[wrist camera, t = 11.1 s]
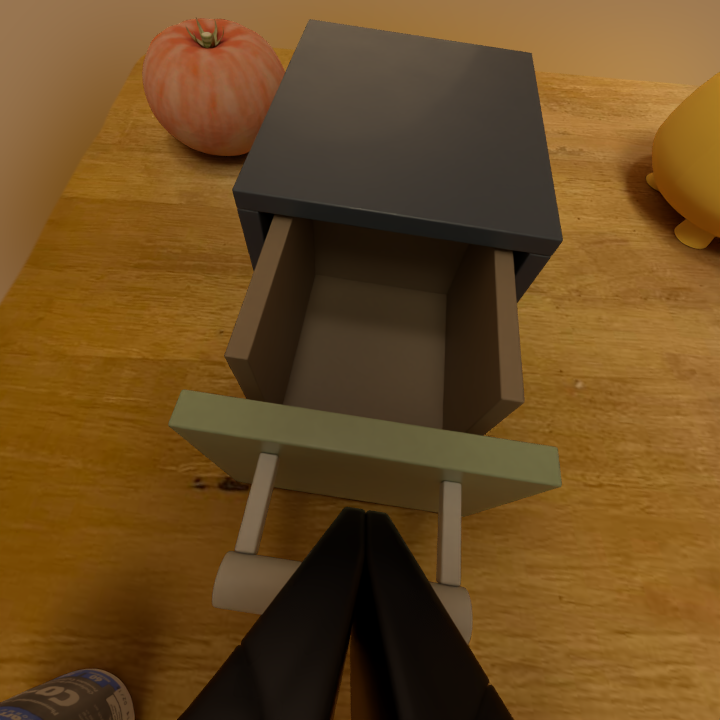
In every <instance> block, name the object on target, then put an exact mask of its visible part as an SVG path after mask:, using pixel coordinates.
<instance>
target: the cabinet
mask: <svg viewBox="0 0 720 720" xmlns="http://www.w3.org/2000/svg"><path fill="white" fill-rule="evenodd" d="M232 191H233V195H234V199H235V202H236V206H237V210H238V214H239V218H240V222H241V225H242V229H243V233H244V237H245V240H246V244H247V248H248V252H249V255H250V259H251V263H252V267H253V270H254V271H255V268H256V265H257V262H258V259H259V256H260V254H261V251H262V248H263V245H264V242H265V240H266V237H267V234H268V231H269V228H270V225H271V223H272V220H273V217H274V214H279V215H285V216H292V217H298V218H305V219H311V220H318V221H324V222H331V223H338V224H344V225H351V226H357V227H364V228H370V229H377V230H383V231H390V232H396V233H403V234H409V235H416V236H422V237H429V238H435V239H442V240H448V241H455V242H461V243H468V244H474V245H481V246H487V247H494V248H501V249H507V250H513V261H514V274H515V287H516V299H517V303H518V301H519V300H520V299H521V297H522V296H523V295H524V293H525V292H526V290H527V289H528V288H529V286H530V285H531V284H532V282H533V281H534V280H535V278H536V277H537V275H538V274H539V273H540V271H541V270H542V269H543V267H544V266H545V265H546V263H547V262H548V260H549V259H550V257H551V256H552V255H553V253H554V252H555V251H556V249H557V248H558V247H559V245H560V244H561V243H562V241H563V237H562V232H561V226H560V220H559V214H558V208H557V202H556V196H555V190H554V184H553V178H552V172H551V166H550V160H549V154H548V148H547V142H546V136H545V130H544V124H543V118H542V112H541V106H540V100H539V94H538V88H537V82H536V76H535V70H534V65H533V59H532V53H527V52H521V51H514V50H508V49H501V48H495V47H488V46H482V45H474V44H468V43H462V42H456V41H449V40H442V39H435V38H429V37H423V36H416V35H410V34H403V33H396V32H390V31H382V30H377V29H370V28H363V27H357V26H350V25H344V24H337V23H331V22H324V21H317V20H311V19H310V20H309V21H308V23H307V26H306V28H305V30H304V32H303V35H302V37H301V39H300V41H299V43H298V46H297V48H296V50H295V52H294V54H293V57H292V59H291V61H290V63H289V65H288V68H287V70H286V72H285V74H284V76H283V79H282V81H281V83H280V85H279V87H278V90H277V92H276V94H275V96H274V98H273V101H272V103H271V105H270V107H269V110H268V112H267V114H266V116H265V118H264V121H263V123H262V125H261V127H260V129H259V132H258V134H257V136H256V138H255V140H254V143H253V145H252V147H251V149H250V151H249V154H248V156H247V158H246V160H245V162H244V165H243V167H242V169H241V171H240V174H239V176H238V178H237V180H236V182H235V185H234V187H233V189H232Z"/></svg>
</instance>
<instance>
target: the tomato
mask: <svg viewBox="0 0 720 720" xmlns="http://www.w3.org/2000/svg"><path fill="white" fill-rule="evenodd" d="M142 74H143V85H144V90H145V94H146V97H147V101H148V103H149V105H150V108H151V110H152V112H153V113H154V115H155V117H156V118H157V120H158V121H159V122H160V123H161V125H162V126H163V127H164V128H165V129H166V130H167V131H168V132H169V133H170V134H171V135H173V136H174V137H175V138H176V139H177V140H179V141H180V142H182V143H183V144H185V145H186V146H188V147H190V148H192V149H195V150H197V151H200V152H203V153H207V154H212V155H219V156H235V155H241V154H245V153H249V151H250V149H251V147H252V145H253V143H254V140H255V138H256V136H257V134H258V132H259V129H260V127H261V125H262V123H263V121H264V118H265V116H266V114H267V112H268V110H269V107H270V105H271V103H272V101H273V98H274V96H275V94H276V92H277V90H278V87H279V85H280V83H281V81H282V79H283V76H284V74H285V71H284V69H283V66H282V64H281V62H280V60H279V58H278V57H277V55H276V54H275V52H274V50H273V49H272V48H271V46H270V45H269V44H268V43H267V41H265V40H264V38H263V37H261V36H260V35H258V34H257V33H256V32H254V31H252V30H250V29H247V28H245V27H244V26H242V25H240V24H238V23H235V22H232V21H228V20H225V19H205V18H200V19H197V18H196V19H190V20H186V21H183V22H181V23H180V24H176V25H173V26H170V27H168V28H166V29H165V30H164V31H162V32H161V33H159V34H158V35H157V36H156V37H155V38H154V39H153V40H152V42H151V44H150V46H149V48H148V50H147V54H146V57H145V60H144V63H143V72H142Z"/></svg>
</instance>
